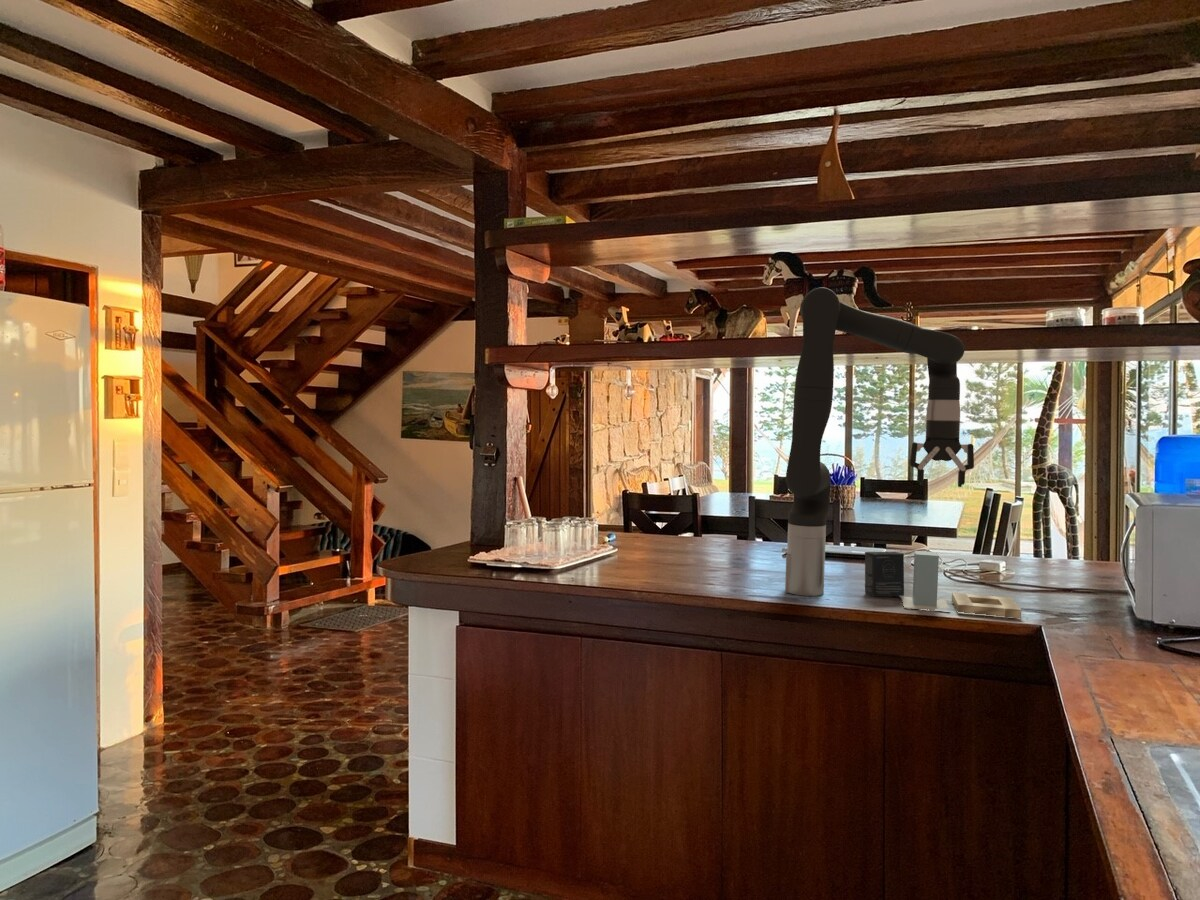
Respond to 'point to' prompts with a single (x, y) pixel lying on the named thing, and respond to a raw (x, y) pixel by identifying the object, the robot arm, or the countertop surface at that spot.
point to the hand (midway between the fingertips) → (940, 485)
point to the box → (884, 573)
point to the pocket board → (986, 605)
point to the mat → (909, 604)
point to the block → (925, 578)
